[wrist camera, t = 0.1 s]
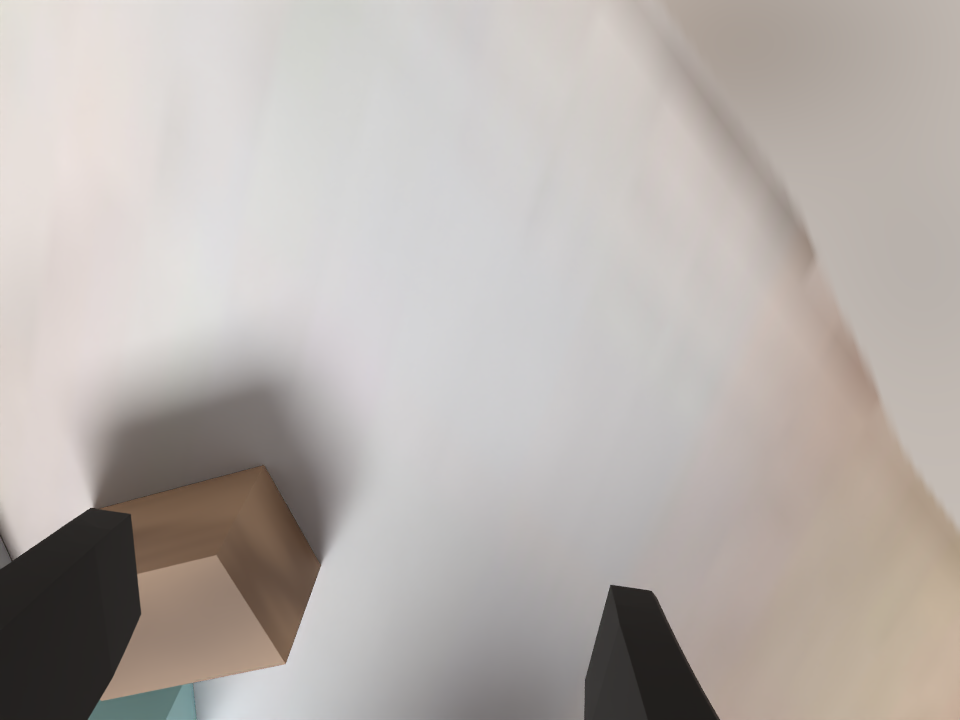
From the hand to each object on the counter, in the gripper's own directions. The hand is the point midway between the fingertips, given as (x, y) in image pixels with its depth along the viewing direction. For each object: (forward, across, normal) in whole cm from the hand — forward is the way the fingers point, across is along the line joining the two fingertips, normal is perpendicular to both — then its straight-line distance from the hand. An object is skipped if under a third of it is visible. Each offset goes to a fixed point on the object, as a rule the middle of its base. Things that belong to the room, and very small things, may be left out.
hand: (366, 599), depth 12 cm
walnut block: (+10, +6, +9) cm, 15 cm away
